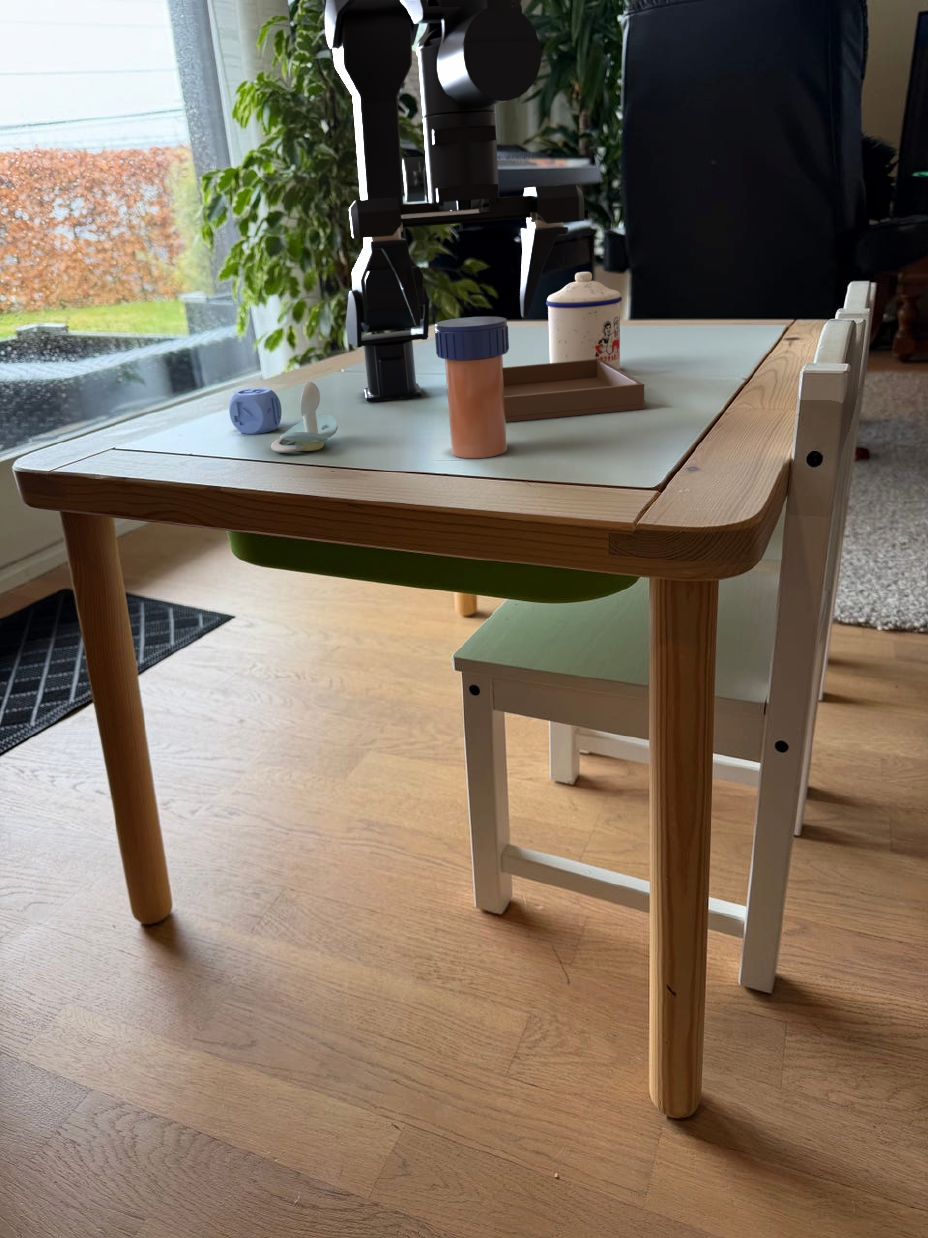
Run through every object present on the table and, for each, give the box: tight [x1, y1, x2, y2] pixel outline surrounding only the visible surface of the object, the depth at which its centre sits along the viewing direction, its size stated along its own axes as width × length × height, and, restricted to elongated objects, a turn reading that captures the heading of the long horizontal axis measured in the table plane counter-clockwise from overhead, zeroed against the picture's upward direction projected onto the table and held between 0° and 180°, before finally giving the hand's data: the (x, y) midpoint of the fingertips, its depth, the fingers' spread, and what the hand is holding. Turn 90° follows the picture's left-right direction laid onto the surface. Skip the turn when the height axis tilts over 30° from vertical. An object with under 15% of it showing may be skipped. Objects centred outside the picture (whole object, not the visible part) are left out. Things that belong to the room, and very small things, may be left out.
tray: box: [503, 359, 645, 423], centre depth 103 cm, size 17×15×2 cm
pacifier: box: [270, 380, 338, 454], centre depth 90 cm, size 7×6×6 cm
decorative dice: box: [228, 387, 283, 435], centre depth 99 cm, size 4×4×4 cm
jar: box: [444, 355, 508, 459], centre depth 83 cm, size 5×5×11 cm
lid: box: [434, 316, 510, 360], centre depth 82 cm, size 6×6×3 cm
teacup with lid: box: [545, 271, 623, 370], centre depth 117 cm, size 12×9×12 cm
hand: (471, 321), depth 81 cm, fingers open, 9 cm apart
